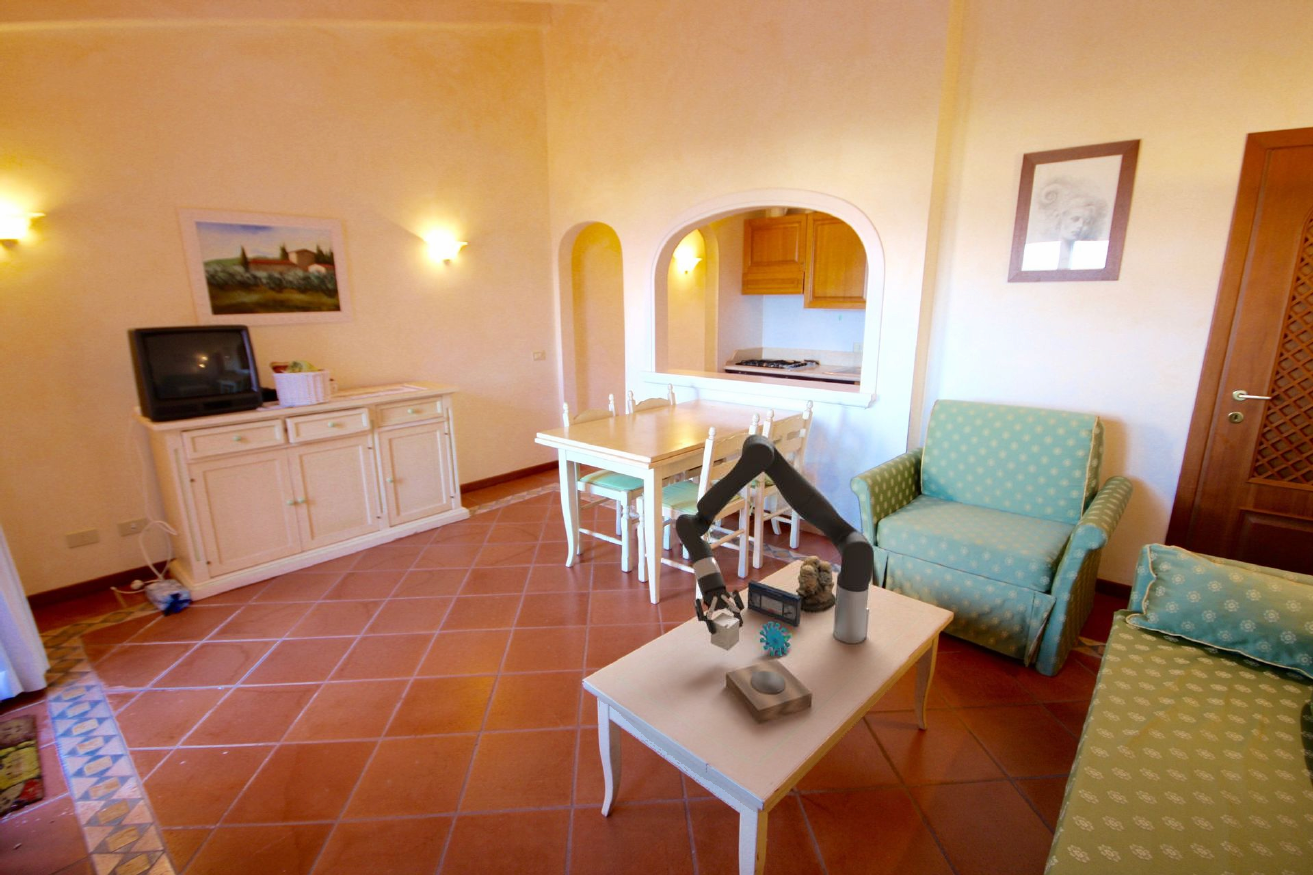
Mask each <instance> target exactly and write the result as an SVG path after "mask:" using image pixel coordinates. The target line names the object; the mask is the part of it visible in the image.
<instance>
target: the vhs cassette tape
mask: <svg viewBox="0 0 1313 875" xmlns="http://www.w3.org/2000/svg"><path fill="white" fill-rule="evenodd" d="M747 588H748V589H747V610H750V611H752V612H755V613H757V614H760V615H763V616H766V617H768V618H771V619H773V620H775V621H779V622H781V623H784V624H786V625H789V626H792V627H795V628H797V627H798V626H800V624H801V611H802V610H801V603H800V602H801V596H797V595H798V594H795V593H792V592H789V591H786V590H783V589H780V588H775V587H774V586H770V585H767V584H765V583H762V582H759V581H756V580H752V579H751V580H749V581H748V583H747Z"/></svg>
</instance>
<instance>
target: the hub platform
mask: <svg viewBox="0 0 1313 875" xmlns="http://www.w3.org/2000/svg"><path fill="white" fill-rule="evenodd" d="M725 679H726V680H725V686H726V688H727V690H729V691H730V693H731V694H732V695H733V696H734V697H735V699H736V700H737V701H738V702H739V703H740V704H741V706H742V707H743V708H744V709H745V711H746V712H747V713H748V714H749V715H750V717H752V719H753V720H754V721H755V723H756V724H758V725H760V724H763V723H766V722H769V721H772V720H776V719H778V718H782V717H784V716H788V715H790V714H793V713H797V712H800V711H803V710H806V709H808V708H811V707H812V700H813V692H811V690H809V689H808V688H807V687H806V686H805V684H803V683H802V682H801V681H800V680H799V679H798V678H797V677H796V676H795V675H794V674H793V673H792V672H791V671H790V670H789V669H787V667H785V666H784V664H782V662H780V661H779V660H778V659H777V658H774V659H770V660H768V661H763V662H760V663H757V664H753V665H750V666H746V667H742V668H739V669H735V670H732V671H729V672H726V674H725Z"/></svg>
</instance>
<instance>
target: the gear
mask: <svg viewBox="0 0 1313 875" xmlns="http://www.w3.org/2000/svg"><path fill="white" fill-rule="evenodd" d="M773 625H774V627H773ZM768 627H769V628H768ZM780 627H781V624H780V623H778V622H776V623H774V621H773V622H772V621H769V622H768V623H766V624H764V625H762V629H761V630H760V631H759V635H761V636H763V637H761V638H760V639H759V641H760V642H759V643H761V644H763V643H765V645H764V646H763V649H764V650H765V651H768V650H769V648H771V649H772V650H770V651H769V655H771V656H774V655H775V654H776V656H777V657H782V655H783V654H786V653H788V652H789V651H788V648H790V647H791V643H790V642H788V641H789V640H790V638H792V637H793V634H792V633H790V632H789V633H788V634H787V635H786V634H782V633H786V632H787V629H786V627H782V628H781V629H778V628H780ZM776 650H777V652H776Z"/></svg>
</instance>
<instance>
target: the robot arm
mask: <svg viewBox="0 0 1313 875" xmlns="http://www.w3.org/2000/svg"><path fill="white" fill-rule="evenodd" d="M762 473H764V474H765V475H766V476H767V477H768V478H769V479H770V481H771V482H772V483H773V484H774V485H775V487H776V488H777V490H778V491H779V493H780V495H781V496H782V498H783V499H784V500H785V503H787V504H788V505H789V507H790V508H791V509H792V510H793V511H794V512H795V513H797V515H798V516H800V518H801V519H803V520H804V521H805V522H807V523H808V524H809V525H812V526H813V527H815V528H816V529H818V530H819V531H820V532H821V533H823V534H824V535H825V537H827V539H828V540H829V541H830V542H831V543H832V545H834V547H835V549H836V550H837V551H838V553H839V555H840V557H841V563H840V572H838V574H837V576H836V578H837V579H836V588H835V598H836V600H835V604H834V605H835V606H834V614H833V615H834V616H833V618H834V619H833V631H832V632H833V634H832V635H833V636H834V637H835V638H836V639H837V640H838V641H840V642H842V643H845V644H855V645H856V644H860V643H862V642H863V641H864V640H865V639H866V638H867V637H868V631H869V630H868V628H869V627H868V626H869V618H870V616H869V615H870V608H868V598H869V586H870V583H871V581H872V578H873V577H872V576H873V568H874V561H875V552H874V548H873V546H872V545H871V543H870V542H869V540H868V539H867V538H866V536H865V535H864V534H863V533H862V532H860V531H858V529H856V528H855V527H854V526H853V525H851V524H850V523H849V522H848V521H846V520H845V519H844V518H843V517H842V516H841V515H840V514H839V513H838V512H837V510H836V508H834V506H833V505H832V504H831V503H830V501H829V500H828V499H827V498H826V497H825V495H824V494H822V492H820V491H819V489H817V488H816V486H815V485H813V484H812V483H811V482H810V481H809V480H808V479H807V478H806V477H805V476H804V475H803V474H801V472H800V471H798V470H797V469H796V468H795V467H794V466H793V465H791V463H789V461H787V459H786V458H785V457H784V456H783V454H782V453H781V451H779V450H778V448H777V447H776V446H775V445H774V443H773V442H772V441H771V440H770V439H769V438H768V437H766V436H765V435H762V434H751V435H749V436H748V437H746V439H745V440H744V442H743V443H742V446H741V456H740V457H739V459H738V460H737V462H736V463H735V465H734V466H733V467H732V469H730V471H729V472H728V473H727V474H726V475H725V476H724V477H722V478H721V479H720V480H718V481H717V482H716V483H715V484H713V485H712V486H711V487H709V489H708V490H707V491H706V492H705V493H704V494H703V496H702V497H701V498H700V499H699V501H697V504H696V509H697V512H696V513H695V514H690V513H682V514H680V515H678V517H677V518H676V521H675V532H676V534H677V536H678V538H679V540H680V542H681V544H683V546H684V548H685V550H686V551H687V553H688V555H689V556H688V557H689V559H690V562H691V564H692V567H693V568H692V569H693V573H694V577H695V578H694V579H695V580H696V582H697V585H698V588H699V591H700V595H701V596H702V598H696V599H695V600H694V601H693V607H694V609H695V613H696V617H697V620H698V622H704V623H705V624H706V628H707V630H708V632H709V633H710V635H711V634H712V635H713V634H715V633H716V629H715V626H714V623H713V619H712V617H713V613H714V612H718V611H720V610H721V611H722V610H725V609H726V611H729V612H730V613H732V614H733V617H734V618H737V619H739V629H740V628H742V627H743V625H744V620H743V618H742V615H741V611H743V610H744V609H745V605H744V602H743V600H742V597H741V595H740V592H739V591H738V589H737V588H736V589H733V591H728V590H727V587H726V583H725V580H724V577H723V575H722V572H721V569H720V566H719V563H718V562H717V560H716V558H715V555H714V553H713V549H712V547H711V545H710V543H709V541H706V540H704V539H703V538H702V537H703V536H704V535H706V534H707V532H708V531H709V530H710V528H711V526H712V524H713V523H714V522H715V521H714V520H715V519H716V517H717V516H718V515H719V514H720V513H721V511H723V510H724V508H725V507H726V506H727V505H728V504H729V503H730V502H731V500H733V498H734V497H735V496H737V494H739V492H740V491H741V490H742V489H744V487H746V486H747V485H748V484H749V483H751V482H752V481H753V480H754V479H755V478H757V477H758V476H760V475H761V474H762ZM730 598H731V599H732V600H733V601H731V600H730ZM703 605H705V606H706V607H707V609H706V611H705V613H704V609H703Z"/></svg>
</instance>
